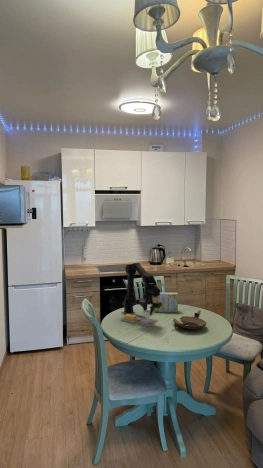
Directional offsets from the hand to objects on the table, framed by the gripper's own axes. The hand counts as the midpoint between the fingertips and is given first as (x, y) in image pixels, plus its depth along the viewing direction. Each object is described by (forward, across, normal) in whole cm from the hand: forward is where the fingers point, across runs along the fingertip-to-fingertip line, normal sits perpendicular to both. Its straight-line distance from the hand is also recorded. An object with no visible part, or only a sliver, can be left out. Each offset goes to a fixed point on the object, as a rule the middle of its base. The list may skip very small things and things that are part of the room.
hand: (148, 314), depth 223 cm
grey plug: (0, 0, 0) cm, 0 cm away
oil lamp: (+8, +27, +15) cm, 32 cm away
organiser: (+7, -8, 0) cm, 10 cm away
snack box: (+8, -6, +34) cm, 35 cm away
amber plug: (+6, -13, -4) cm, 14 cm away
